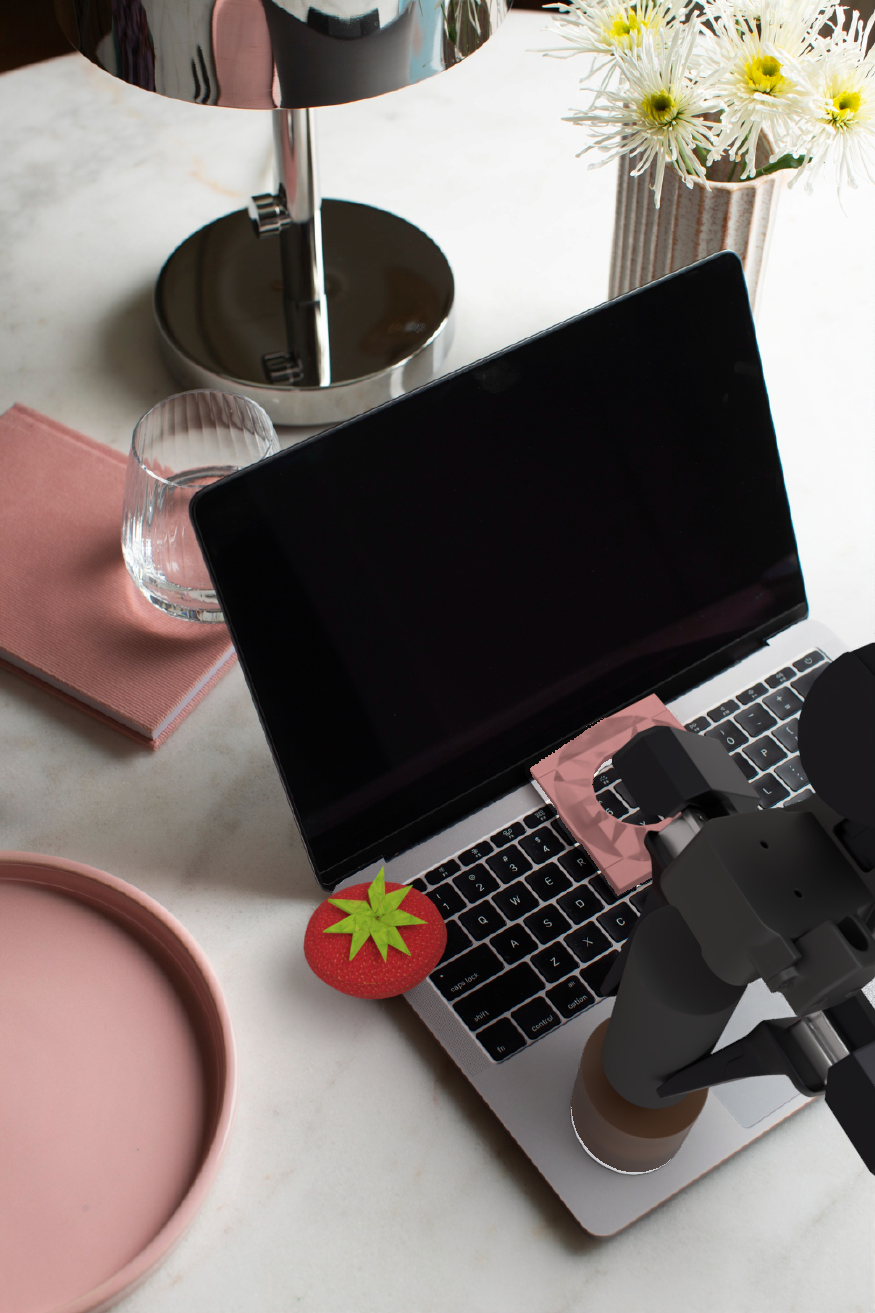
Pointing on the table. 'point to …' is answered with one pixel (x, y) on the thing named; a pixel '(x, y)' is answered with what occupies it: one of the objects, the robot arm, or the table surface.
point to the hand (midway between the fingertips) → (633, 1042)
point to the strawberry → (375, 939)
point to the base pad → (576, 802)
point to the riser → (626, 1117)
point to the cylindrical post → (664, 1010)
